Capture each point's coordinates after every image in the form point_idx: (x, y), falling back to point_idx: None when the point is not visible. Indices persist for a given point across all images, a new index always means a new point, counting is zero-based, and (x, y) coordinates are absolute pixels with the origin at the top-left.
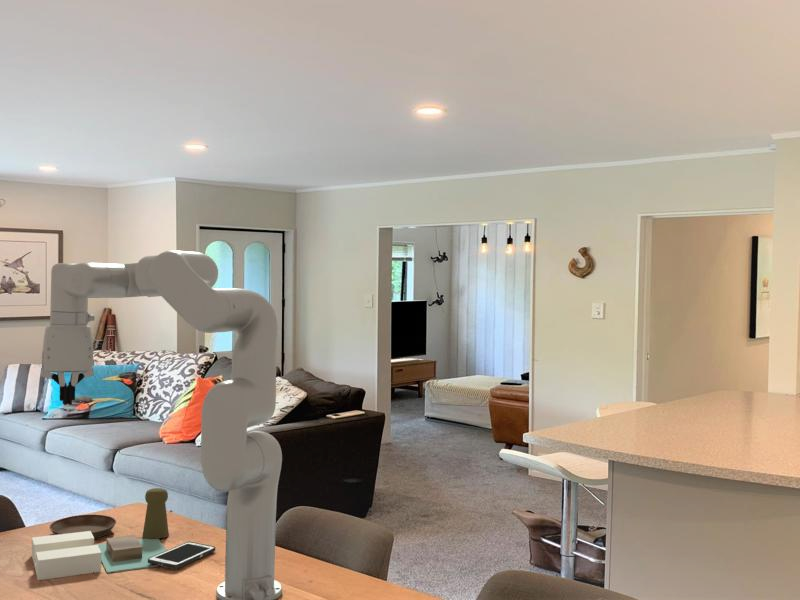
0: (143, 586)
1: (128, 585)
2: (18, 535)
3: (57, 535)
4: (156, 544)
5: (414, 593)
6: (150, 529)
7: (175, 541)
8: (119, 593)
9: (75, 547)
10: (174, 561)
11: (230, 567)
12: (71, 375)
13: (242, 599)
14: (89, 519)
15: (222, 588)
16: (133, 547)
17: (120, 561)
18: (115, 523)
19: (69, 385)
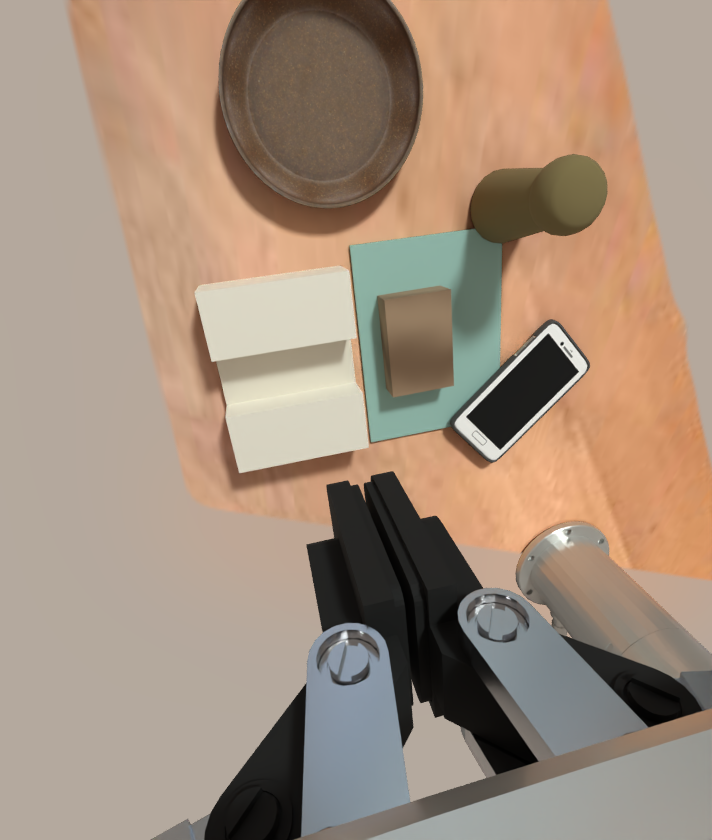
0: (424, 511)
1: None
2: (115, 44)
3: (262, 290)
4: (488, 288)
5: None
6: (496, 234)
7: (533, 264)
8: None
9: (313, 403)
10: (495, 443)
11: (556, 616)
12: (528, 737)
13: (541, 602)
14: None
15: (530, 565)
16: (435, 387)
17: None
18: (418, 128)
19: (437, 695)
